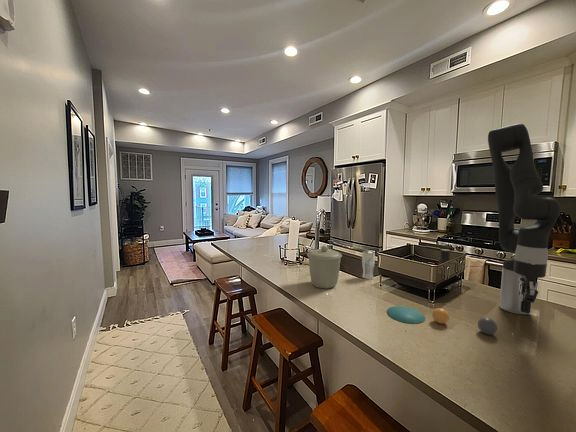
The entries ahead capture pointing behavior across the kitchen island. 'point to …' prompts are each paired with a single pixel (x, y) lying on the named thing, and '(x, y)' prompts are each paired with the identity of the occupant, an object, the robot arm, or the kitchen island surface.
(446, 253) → the sauce bottle
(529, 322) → the kitchen island surface
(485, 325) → the blue-grey ball
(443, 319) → the object ball
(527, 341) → the kitchen island surface
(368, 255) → the beer glass
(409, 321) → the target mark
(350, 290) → the kitchen island surface
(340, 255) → the canister
